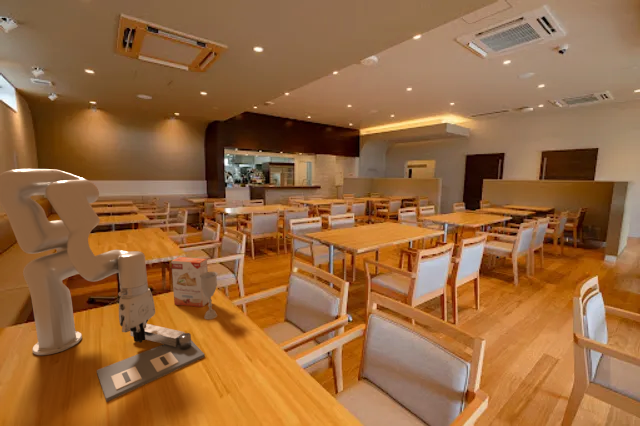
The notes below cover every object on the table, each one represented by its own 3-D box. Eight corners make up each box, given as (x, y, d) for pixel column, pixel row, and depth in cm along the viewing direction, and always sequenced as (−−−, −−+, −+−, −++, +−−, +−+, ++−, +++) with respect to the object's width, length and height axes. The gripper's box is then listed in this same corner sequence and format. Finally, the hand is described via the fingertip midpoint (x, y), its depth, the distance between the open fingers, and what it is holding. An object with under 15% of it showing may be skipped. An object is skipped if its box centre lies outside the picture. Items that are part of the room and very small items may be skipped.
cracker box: (173, 305, 128) (170, 260, 125) (182, 299, 134) (179, 256, 131) (202, 308, 126) (199, 262, 123) (209, 301, 132) (207, 258, 129)
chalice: (213, 321, 115) (211, 278, 112) (198, 319, 116) (195, 277, 113) (222, 312, 122) (221, 272, 119) (208, 311, 123) (206, 271, 120)
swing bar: (141, 331, 105) (140, 322, 104) (194, 344, 98) (193, 333, 97) (130, 337, 101) (129, 327, 100) (185, 351, 94) (184, 340, 93)
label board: (96, 373, 85) (96, 369, 85) (186, 337, 103) (186, 334, 103) (106, 401, 75) (105, 397, 74) (204, 356, 93) (204, 352, 93)
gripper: (122, 300, 86) (128, 356, 89) (161, 282, 100) (166, 330, 103) (103, 297, 88) (110, 352, 91) (144, 279, 102) (149, 327, 105)
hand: (139, 340), depth 97 cm, fingers closed
